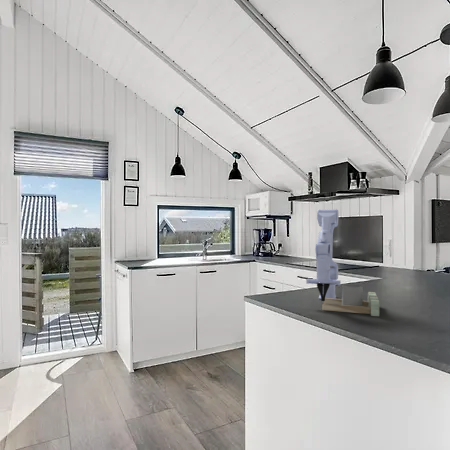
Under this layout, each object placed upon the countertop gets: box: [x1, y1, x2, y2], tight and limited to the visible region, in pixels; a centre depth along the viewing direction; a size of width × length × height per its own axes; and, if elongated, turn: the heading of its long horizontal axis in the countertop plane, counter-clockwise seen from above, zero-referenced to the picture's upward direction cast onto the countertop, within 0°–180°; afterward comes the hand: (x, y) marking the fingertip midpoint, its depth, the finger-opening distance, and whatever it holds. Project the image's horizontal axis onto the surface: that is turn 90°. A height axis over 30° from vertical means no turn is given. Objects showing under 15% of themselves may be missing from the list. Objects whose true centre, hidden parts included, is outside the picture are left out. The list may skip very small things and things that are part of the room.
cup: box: [341, 283, 363, 306], centre depth 152 cm, size 8×8×10 cm
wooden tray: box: [321, 291, 380, 317], centre depth 152 cm, size 20×22×6 cm
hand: (323, 300), depth 156 cm, fingers closed
